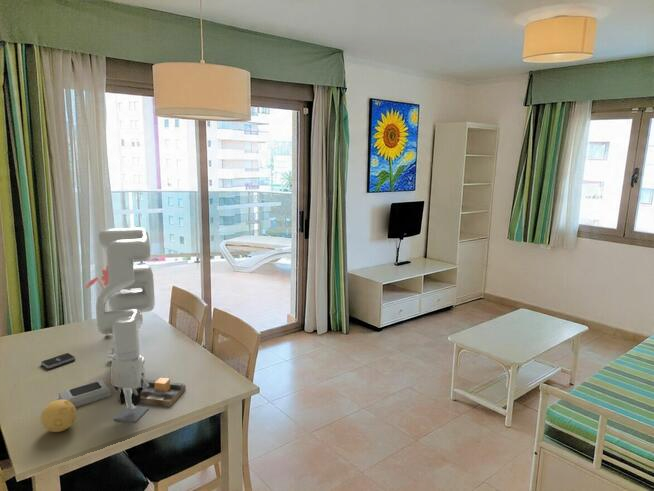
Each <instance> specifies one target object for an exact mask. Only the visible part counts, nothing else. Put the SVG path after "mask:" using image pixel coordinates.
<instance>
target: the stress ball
mask: <svg viewBox="0 0 654 491" xmlns="http://www.w3.org/2000/svg"><path fill="white" fill-rule="evenodd" d="M76 408H77V407H75V405H74V404H73V403H72V402H71V401H69V400H63V399H60V400H59V399H56V400H53V401H51V402H49V403H48V404H46V406H45V407H44V408H43V409H42V411H41V415H40V423H41V425H42V427H43V429H45V430H46V431H49V432H52V433H61V432H63V431H65V430H67V429H69V428H70V427H71V426H72V425H73V424H74V423H75V421H76V420H77V409H76Z"/></svg>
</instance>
